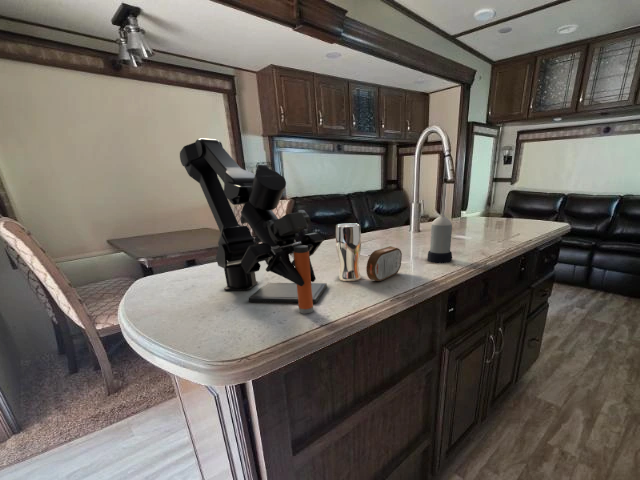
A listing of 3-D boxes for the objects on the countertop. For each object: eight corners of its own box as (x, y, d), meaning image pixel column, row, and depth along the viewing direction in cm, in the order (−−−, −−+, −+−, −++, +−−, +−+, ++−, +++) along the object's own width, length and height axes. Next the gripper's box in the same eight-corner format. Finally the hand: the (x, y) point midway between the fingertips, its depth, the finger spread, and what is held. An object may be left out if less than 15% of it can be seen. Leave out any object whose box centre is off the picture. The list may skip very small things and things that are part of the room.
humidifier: (455, 259, 109) (462, 182, 100) (445, 264, 103) (451, 183, 94) (434, 256, 114) (438, 182, 105) (423, 261, 108) (426, 183, 99)
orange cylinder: (297, 313, 67) (291, 248, 62) (301, 308, 70) (295, 245, 65) (311, 313, 67) (306, 248, 62) (314, 308, 69) (310, 245, 64)
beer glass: (363, 275, 93) (362, 223, 88) (360, 282, 87) (359, 226, 82) (340, 274, 94) (337, 223, 89) (335, 281, 88) (332, 226, 82)
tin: (394, 270, 97) (394, 243, 94) (403, 272, 95) (404, 244, 92) (365, 283, 86) (364, 252, 83) (375, 285, 84) (374, 254, 81)
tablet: (248, 302, 74) (248, 297, 73) (268, 286, 85) (267, 282, 84) (316, 303, 72) (315, 298, 72) (326, 286, 83) (326, 282, 83)
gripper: (240, 200, 55) (292, 270, 53) (314, 195, 69) (356, 250, 67) (221, 241, 61) (267, 305, 60) (292, 229, 76) (330, 279, 74)
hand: (308, 282), depth 65 cm, fingers closed on orange cylinder, 3 cm apart
